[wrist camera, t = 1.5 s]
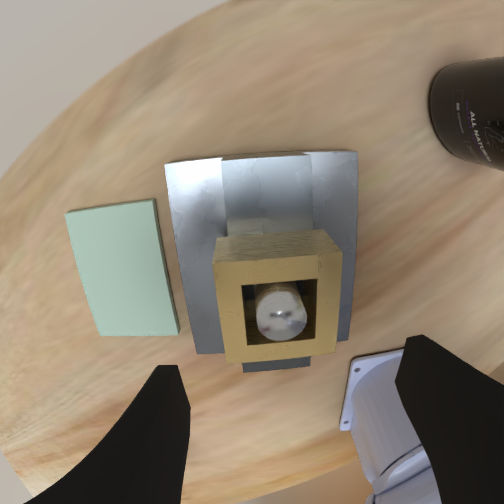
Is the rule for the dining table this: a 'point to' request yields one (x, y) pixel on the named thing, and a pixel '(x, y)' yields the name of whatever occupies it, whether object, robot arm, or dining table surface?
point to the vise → (261, 222)
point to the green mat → (123, 268)
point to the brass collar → (278, 270)
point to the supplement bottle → (471, 110)
